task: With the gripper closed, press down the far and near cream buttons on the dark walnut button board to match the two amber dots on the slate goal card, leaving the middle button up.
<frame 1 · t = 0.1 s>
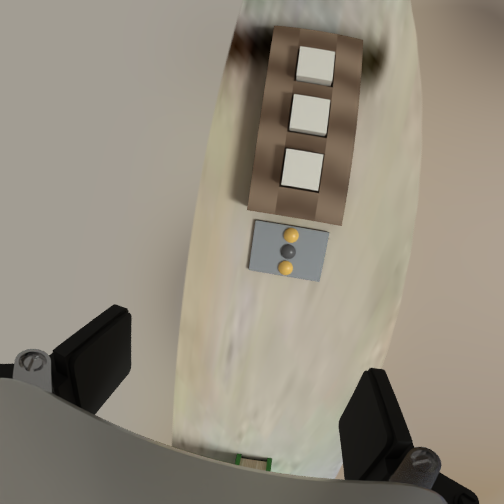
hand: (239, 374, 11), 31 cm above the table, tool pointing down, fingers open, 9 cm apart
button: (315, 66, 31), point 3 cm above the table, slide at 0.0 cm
button board: (308, 120, 36), on the table
goal card: (288, 251, 41), on the table
button middle: (309, 115, 33), point 3 cm above the table, slide at 0.0 cm
hardback book: (250, 475, 54), on the table
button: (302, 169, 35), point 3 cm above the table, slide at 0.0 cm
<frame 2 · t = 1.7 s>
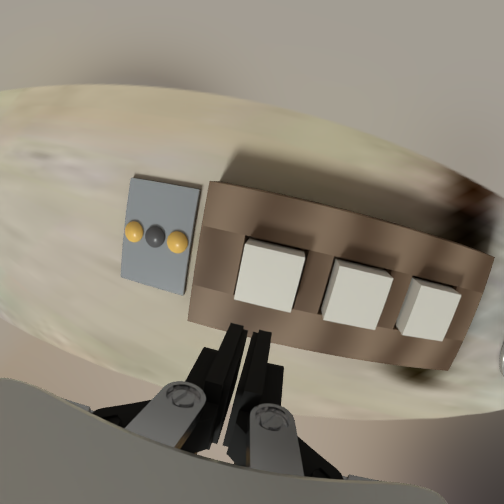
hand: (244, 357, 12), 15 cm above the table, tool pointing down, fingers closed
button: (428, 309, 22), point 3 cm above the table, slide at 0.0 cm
button board: (348, 280, 26), on the table
goal card: (157, 235, 27), on the table
button middle: (356, 294, 22), point 3 cm above the table, slide at 0.0 cm
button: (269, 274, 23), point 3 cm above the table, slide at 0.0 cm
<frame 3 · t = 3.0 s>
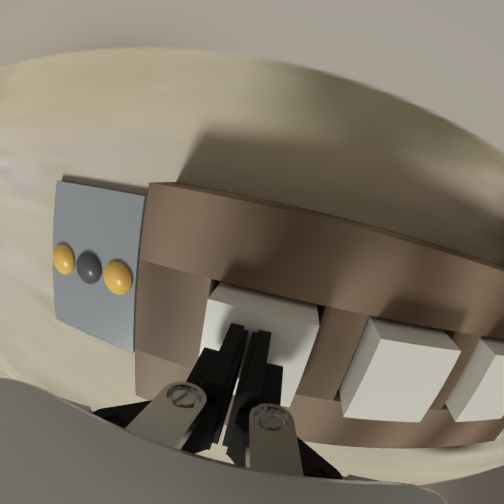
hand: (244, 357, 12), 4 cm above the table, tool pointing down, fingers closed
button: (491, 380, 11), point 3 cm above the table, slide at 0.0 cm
button board: (382, 340, 15), on the table
goal card: (93, 266, 17), on the table
button middle: (398, 373, 12), point 3 cm above the table, slide at 0.0 cm
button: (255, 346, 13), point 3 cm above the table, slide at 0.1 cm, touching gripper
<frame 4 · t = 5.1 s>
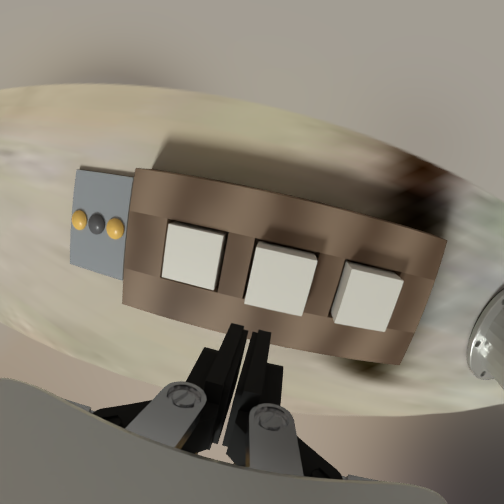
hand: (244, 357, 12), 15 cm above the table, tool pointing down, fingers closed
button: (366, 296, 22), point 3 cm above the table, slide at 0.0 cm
button board: (280, 265, 26), on the table
goal card: (99, 223, 27), on the table
button middle: (280, 278, 22), point 3 cm above the table, slide at 0.0 cm
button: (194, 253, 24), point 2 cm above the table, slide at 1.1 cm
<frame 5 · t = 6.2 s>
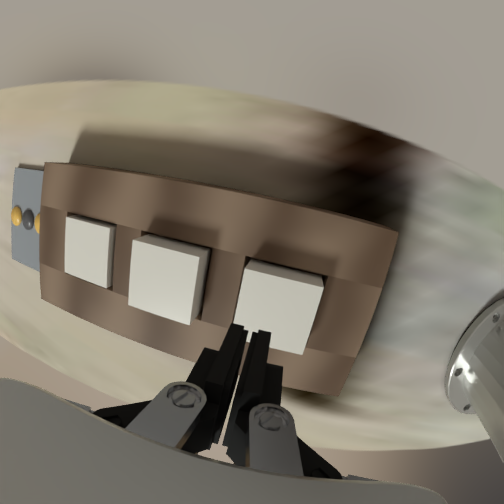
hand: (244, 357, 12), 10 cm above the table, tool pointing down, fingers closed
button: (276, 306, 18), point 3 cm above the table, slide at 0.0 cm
button board: (187, 264, 22), on the table
goal card: (31, 219, 24), on the table
button middle: (167, 277, 18), point 3 cm above the table, slide at 0.0 cm
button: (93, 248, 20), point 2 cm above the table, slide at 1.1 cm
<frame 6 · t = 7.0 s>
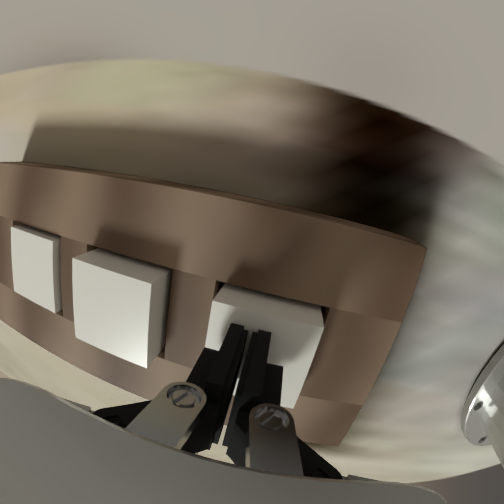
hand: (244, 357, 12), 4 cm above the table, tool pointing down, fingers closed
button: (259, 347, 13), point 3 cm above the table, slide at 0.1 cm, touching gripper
button board: (149, 284, 17), on the table
button middle: (119, 305, 13), point 3 cm above the table, slide at 0.0 cm
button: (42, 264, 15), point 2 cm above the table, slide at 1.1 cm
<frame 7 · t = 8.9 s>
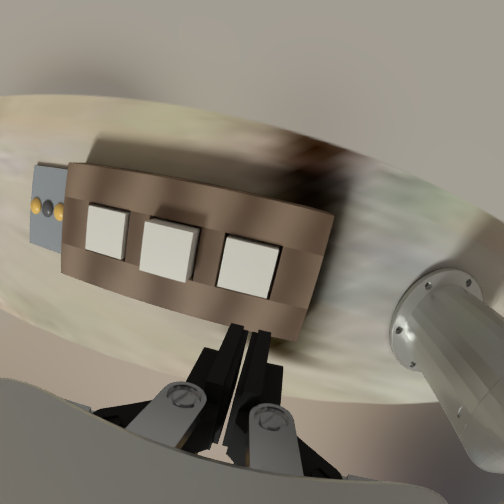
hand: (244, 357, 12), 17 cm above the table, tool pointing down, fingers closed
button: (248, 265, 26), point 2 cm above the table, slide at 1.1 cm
button board: (181, 241, 29), on the table
goal card: (50, 208, 29), on the table
button middle: (169, 249, 25), point 3 cm above the table, slide at 0.0 cm
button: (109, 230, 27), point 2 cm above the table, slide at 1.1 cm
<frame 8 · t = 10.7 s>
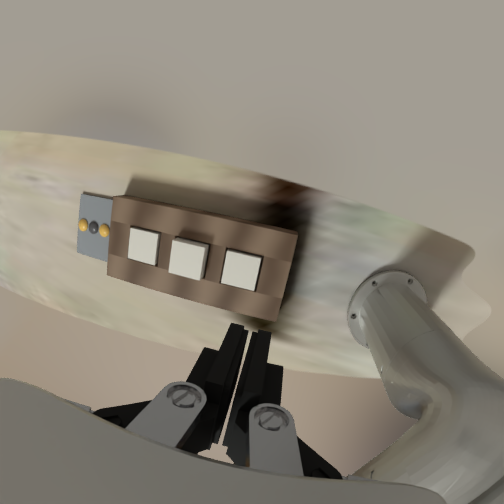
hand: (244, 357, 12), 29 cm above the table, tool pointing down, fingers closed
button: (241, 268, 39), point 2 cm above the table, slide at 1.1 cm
button board: (196, 252, 42), on the table
goal card: (95, 227, 43), on the table
button middle: (188, 258, 39), point 3 cm above the table, slide at 0.0 cm
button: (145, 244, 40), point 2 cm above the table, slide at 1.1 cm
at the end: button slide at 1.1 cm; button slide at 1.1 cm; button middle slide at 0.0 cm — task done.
